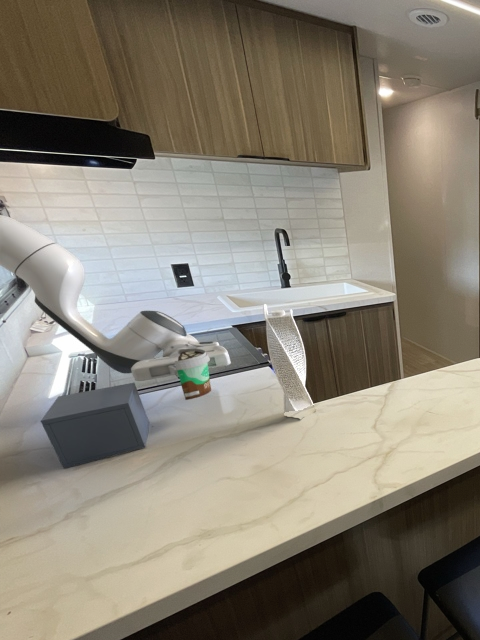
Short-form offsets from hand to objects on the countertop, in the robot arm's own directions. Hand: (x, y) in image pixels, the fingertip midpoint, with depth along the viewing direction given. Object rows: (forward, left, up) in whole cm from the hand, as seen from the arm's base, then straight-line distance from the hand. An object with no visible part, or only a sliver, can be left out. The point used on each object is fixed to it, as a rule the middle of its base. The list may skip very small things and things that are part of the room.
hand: (184, 371), depth 99 cm
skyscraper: (+21, -17, -12) cm, 30 cm away
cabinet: (-16, -6, -11) cm, 21 cm away
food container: (+2, -2, -6) cm, 6 cm away
